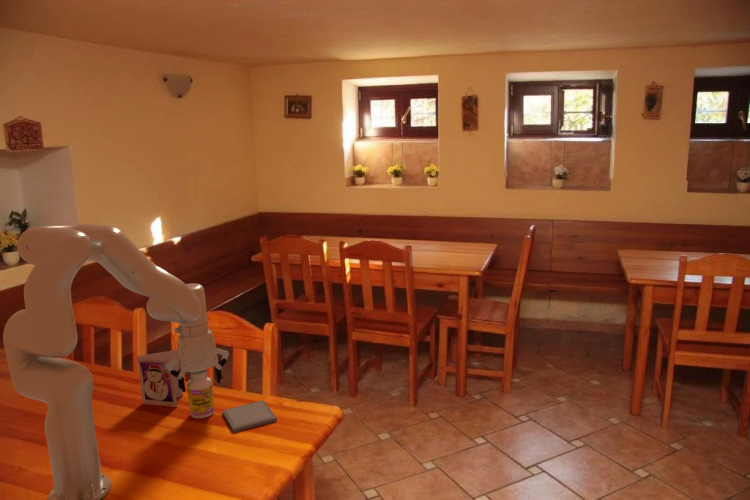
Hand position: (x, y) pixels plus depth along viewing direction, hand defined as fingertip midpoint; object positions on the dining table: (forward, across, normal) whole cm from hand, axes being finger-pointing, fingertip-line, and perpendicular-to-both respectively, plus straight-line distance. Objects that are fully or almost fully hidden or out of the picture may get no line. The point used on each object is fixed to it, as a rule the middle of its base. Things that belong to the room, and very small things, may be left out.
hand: (200, 385), depth 167 cm
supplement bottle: (+8, 0, 0) cm, 9 cm away
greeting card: (+8, -8, +14) cm, 18 cm away
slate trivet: (+8, +10, -9) cm, 16 cm away
